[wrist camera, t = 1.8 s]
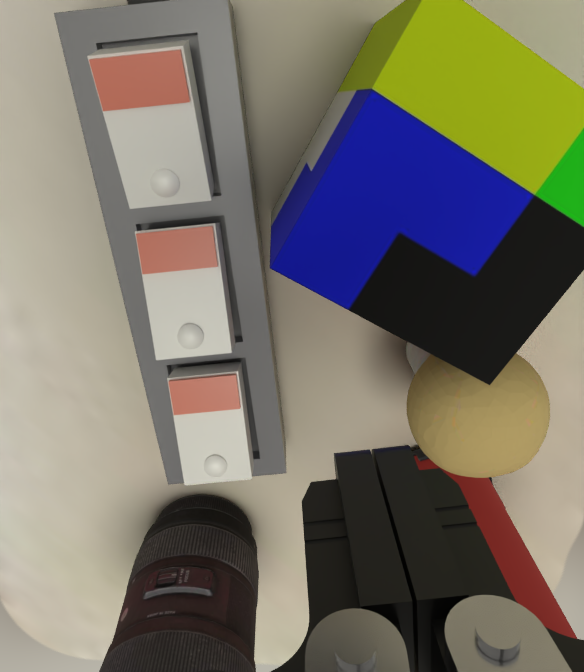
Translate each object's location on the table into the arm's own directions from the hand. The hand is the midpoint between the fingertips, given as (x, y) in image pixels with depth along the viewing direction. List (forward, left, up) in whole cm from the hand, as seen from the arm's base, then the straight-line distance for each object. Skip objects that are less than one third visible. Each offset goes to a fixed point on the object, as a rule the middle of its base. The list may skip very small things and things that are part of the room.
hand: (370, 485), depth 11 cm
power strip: (+1, -6, -20) cm, 21 cm away
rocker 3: (+8, -6, -16) cm, 19 cm away
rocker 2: (+1, -6, -16) cm, 17 cm away
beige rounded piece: (+7, +7, -20) cm, 22 cm away
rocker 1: (-7, -6, -16) cm, 19 cm away
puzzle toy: (-3, +5, -20) cm, 21 cm away
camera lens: (+20, -9, -20) cm, 30 cm away
